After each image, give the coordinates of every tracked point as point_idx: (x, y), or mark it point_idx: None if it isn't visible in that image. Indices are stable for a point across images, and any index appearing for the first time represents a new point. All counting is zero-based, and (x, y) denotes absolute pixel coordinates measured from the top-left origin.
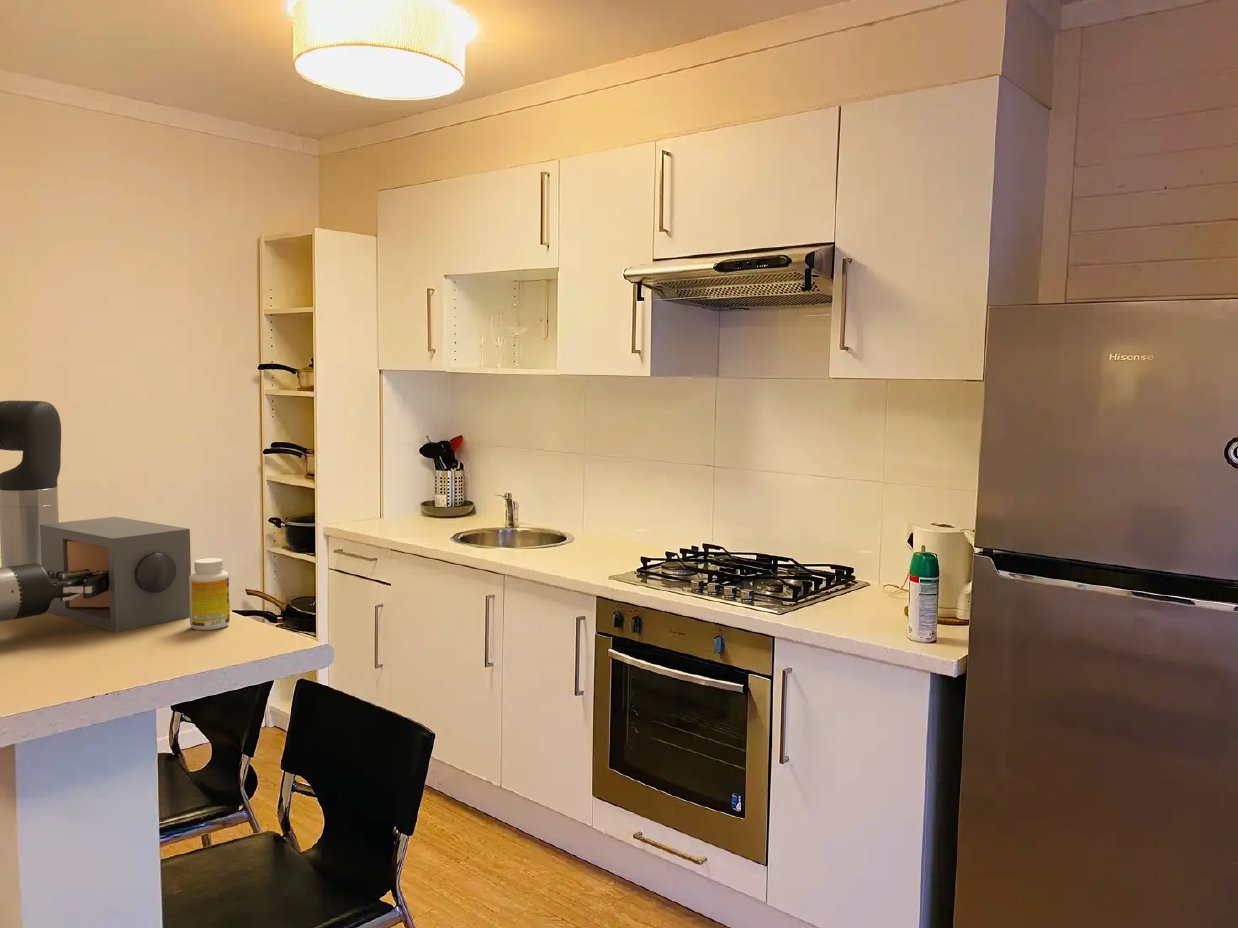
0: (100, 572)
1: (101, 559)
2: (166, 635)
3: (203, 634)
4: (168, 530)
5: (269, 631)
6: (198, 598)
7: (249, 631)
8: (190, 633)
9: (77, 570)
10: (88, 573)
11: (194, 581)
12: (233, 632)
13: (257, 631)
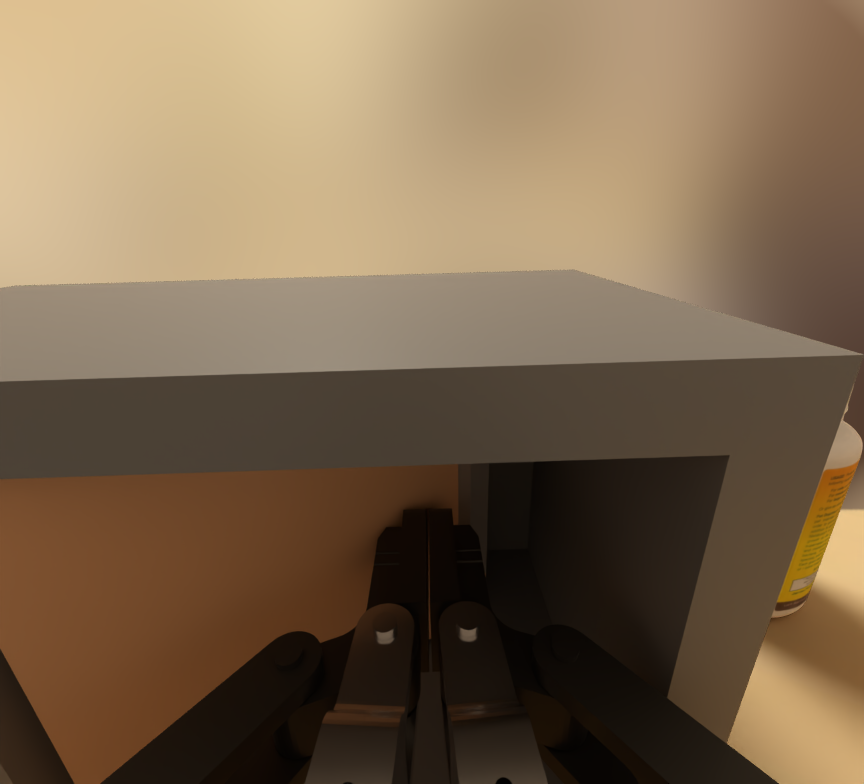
0: (469, 633)
1: (281, 516)
2: (846, 729)
3: (859, 631)
4: (574, 279)
5: (856, 520)
6: (831, 522)
7: (842, 543)
8: (827, 651)
9: (362, 767)
10: (533, 743)
11: (840, 467)
12: (847, 569)
13: (848, 533)
